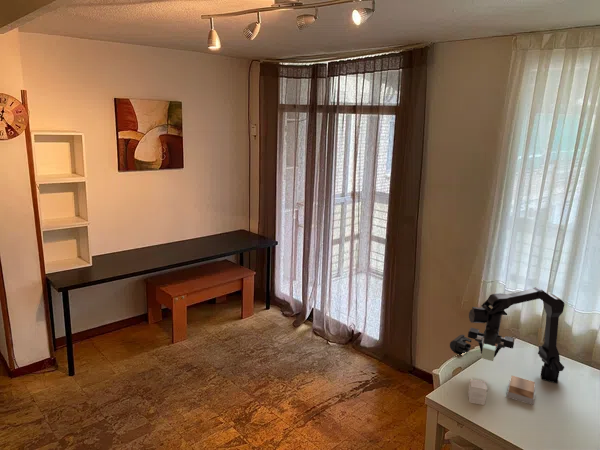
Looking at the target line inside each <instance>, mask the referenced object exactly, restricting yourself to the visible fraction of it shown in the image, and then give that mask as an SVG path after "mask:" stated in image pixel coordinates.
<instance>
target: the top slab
mask: <svg viewBox="0 0 600 450" xmlns="http://www.w3.org/2000/svg"><path fill="white" fill-rule="evenodd" d="M535 384H536V382H535V381H533V380H529V379H527V378H523V377H518V376H515V375H511V377H510V386H509V392H511V393H515V394H518V395H521V396H524V397H528V398H531V399H533V393H534V387H535Z"/></svg>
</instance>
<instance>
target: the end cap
mask: <svg viewBox="0 0 600 450" xmlns="http://www.w3.org/2000/svg"><path fill="white" fill-rule="evenodd" d="M472 340H473V339H472V338H469V337H466V336H465V334H460V335H458V336H457V337H455V338H454V339H453V340H451V341H450V342H449V348H450V350H451V351H452V352H453V354H456V355H459V356H461V355H460V354H462V353H465V352H467V353H468V352H470V350H471V348H472V344H471V343H472ZM467 342H468V343H467Z"/></svg>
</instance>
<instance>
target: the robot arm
mask: <svg viewBox="0 0 600 450" xmlns="http://www.w3.org/2000/svg"><path fill="white" fill-rule="evenodd" d="M536 300H541V301H542V302H543V304H542V305H543V309H544V310H545V314H546V315H545V330H544V343H543V344H542V345H538V352H537V354H538V355H539V358H541V361H542V362H543V365H542V366H541V369H540V370H541V371H540V376H541V380H544V381H547V382H551V383H554V384H558V383H559V377H560V372H563V371H564V369H565V366H564V364H562V362H561V358H560V353H559V350H558V347H557V346H558V331H559V330H558V329H559V321H560V320H559V319H560V316H561V315H562V314H563V312H564V310H565V302H564V300H562V299H561V298H559V297H558V296H556V295H555V294H553V293H547V292H545V290H543V289H542V288H540V287H537V286H536V287H533V288H529V289H525V290H520V291H515V292H511V293H491V294H490V295H489V296H488V298H487V299H486V300H485V301H484V302H483V303H482V305H481V306H480V307H476V306H472V308H471V309H470V310H469V312H468V320H469V322H470V323H471V324H473V323H474V324H485V328H484V332H480V329H479V328H475V327H470V328H469V330H468V333H467V338H469V339H472V340H474V341H476V342H477V343H478V345H479V350H480V354H481V355H482V349H483V345H484V344H488V345H491V346H496V349H495V354H494V358H495V357H496V356H497V355H498V353H499V351H500V350H501V349H502V348H503V349H505V348H508V349H514V347H515V346H514V345H515V338H514V337H512V336H507V335H505V336H504V337H502V335H500V329H501V328H500V327H501V324H502V323H501V322H502V316H507V315H508V313H507V312H506V311H505V310H507V309H509V308H510V307H511V306H513V305H518V304H522V303H526V302H531V301H536Z"/></svg>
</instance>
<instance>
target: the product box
mask: <svg viewBox="0 0 600 450" xmlns="http://www.w3.org/2000/svg"><path fill="white" fill-rule="evenodd" d="M487 392H488V388H487V383H486V381H484V380H478V379H471V378H470V380H469V386H468V392H467V396H468V402H469V403H472V404H477V405H483V406H485V405H486V398H487Z"/></svg>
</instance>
